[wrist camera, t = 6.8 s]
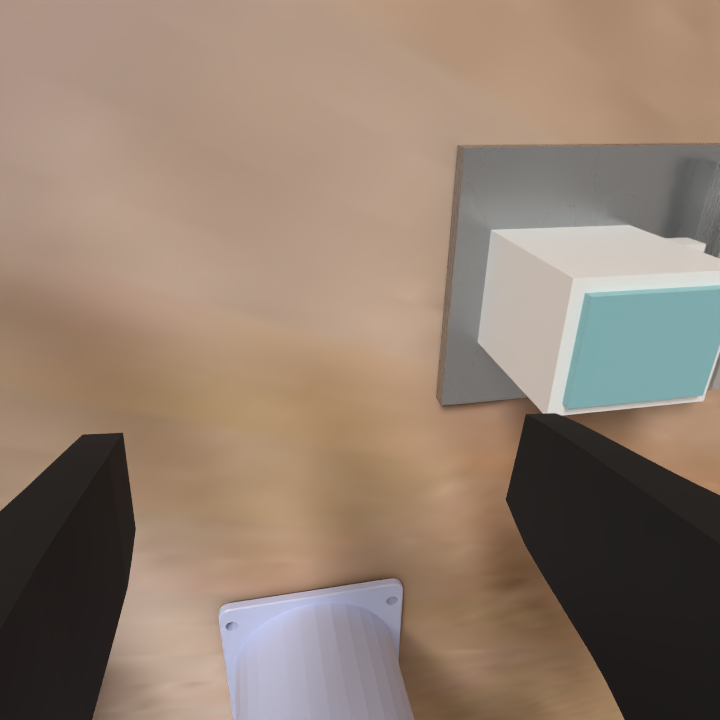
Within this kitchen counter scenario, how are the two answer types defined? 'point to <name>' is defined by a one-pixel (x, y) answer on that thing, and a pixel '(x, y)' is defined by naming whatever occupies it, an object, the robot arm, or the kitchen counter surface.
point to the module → (601, 316)
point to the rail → (712, 241)
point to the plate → (552, 225)
